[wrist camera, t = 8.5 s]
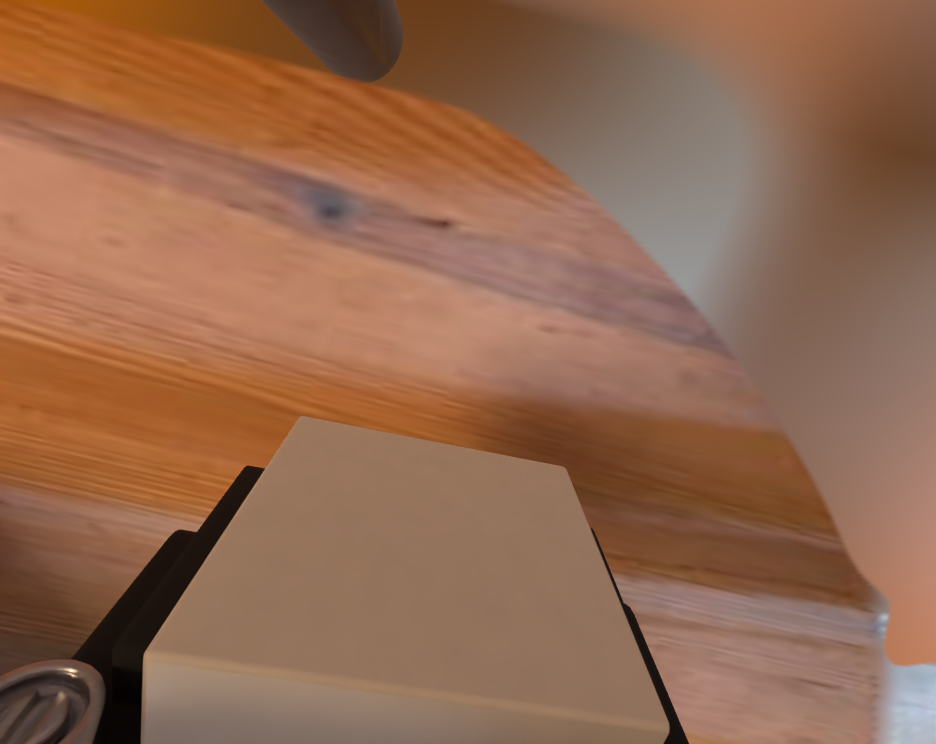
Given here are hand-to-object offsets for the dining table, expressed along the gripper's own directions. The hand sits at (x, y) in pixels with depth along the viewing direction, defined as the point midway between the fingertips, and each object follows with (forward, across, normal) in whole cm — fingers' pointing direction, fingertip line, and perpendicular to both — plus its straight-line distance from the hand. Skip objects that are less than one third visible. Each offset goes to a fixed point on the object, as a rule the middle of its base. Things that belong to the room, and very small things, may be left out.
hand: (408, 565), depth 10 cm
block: (0, 0, 0) cm, 0 cm away
